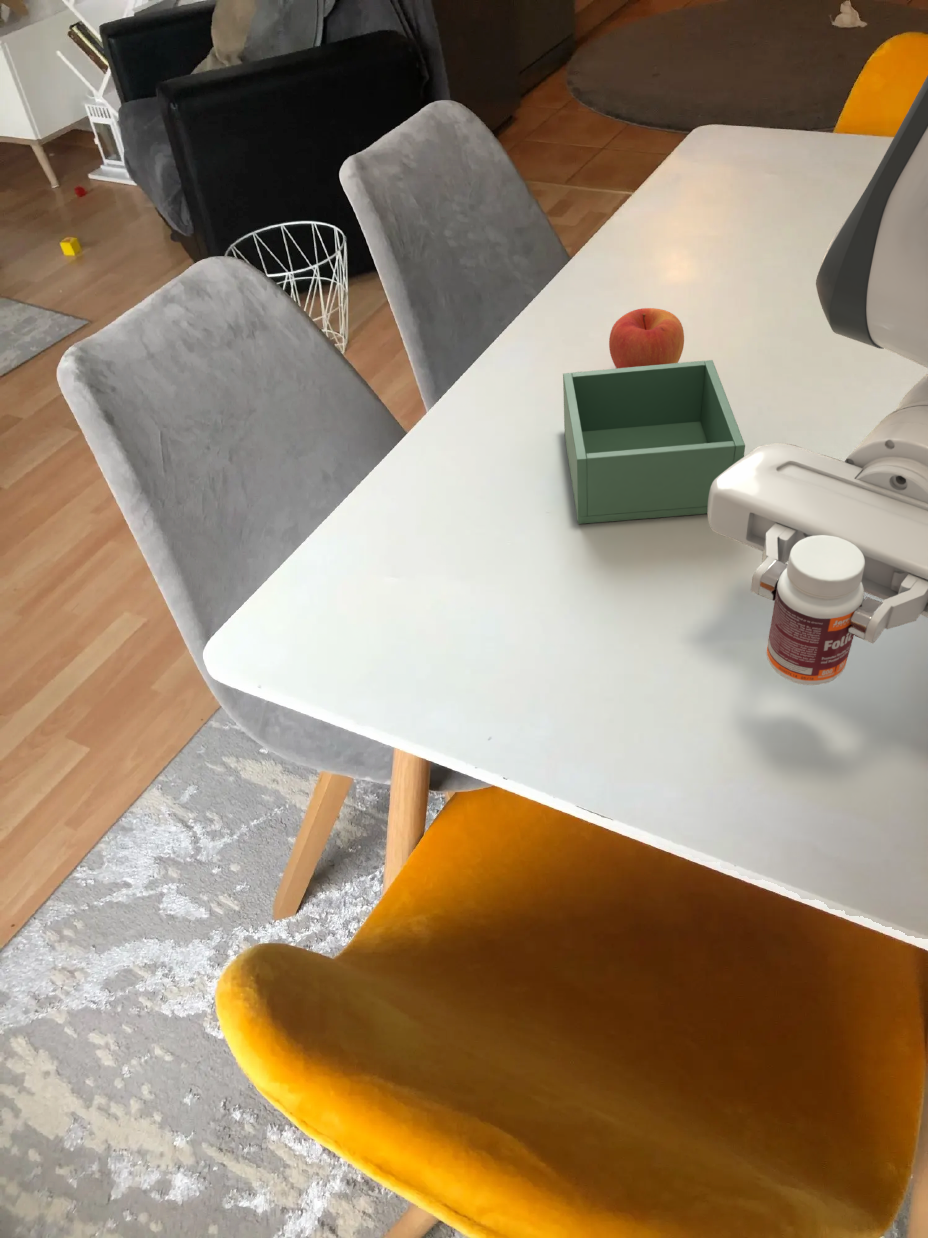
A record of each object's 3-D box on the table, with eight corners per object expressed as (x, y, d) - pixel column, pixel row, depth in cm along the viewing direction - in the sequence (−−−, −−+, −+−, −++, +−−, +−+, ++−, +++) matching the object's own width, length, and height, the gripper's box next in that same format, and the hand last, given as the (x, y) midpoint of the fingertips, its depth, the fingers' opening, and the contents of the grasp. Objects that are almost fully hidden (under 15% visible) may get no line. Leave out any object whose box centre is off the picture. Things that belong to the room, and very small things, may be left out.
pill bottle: (827, 699, 57) (853, 597, 51) (752, 668, 59) (768, 566, 54) (858, 650, 60) (886, 547, 54) (785, 621, 62) (804, 520, 56)
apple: (685, 362, 100) (690, 289, 94) (676, 400, 95) (681, 326, 89) (615, 358, 102) (616, 287, 96) (603, 396, 97) (603, 323, 91)
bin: (706, 423, 92) (712, 359, 87) (736, 511, 82) (745, 445, 77) (564, 435, 93) (562, 373, 88) (578, 524, 83) (577, 459, 78)
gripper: (771, 400, 66) (659, 504, 59) (1099, 501, 55) (1009, 643, 48) (761, 475, 70) (656, 580, 63) (1062, 583, 59) (975, 723, 53)
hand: (811, 609), depth 56 cm, fingers closed on pill bottle, 5 cm apart
